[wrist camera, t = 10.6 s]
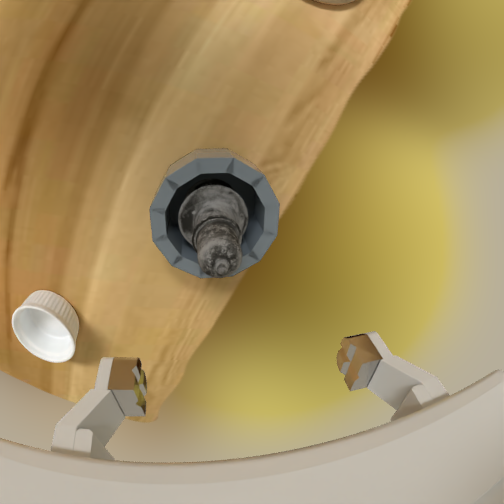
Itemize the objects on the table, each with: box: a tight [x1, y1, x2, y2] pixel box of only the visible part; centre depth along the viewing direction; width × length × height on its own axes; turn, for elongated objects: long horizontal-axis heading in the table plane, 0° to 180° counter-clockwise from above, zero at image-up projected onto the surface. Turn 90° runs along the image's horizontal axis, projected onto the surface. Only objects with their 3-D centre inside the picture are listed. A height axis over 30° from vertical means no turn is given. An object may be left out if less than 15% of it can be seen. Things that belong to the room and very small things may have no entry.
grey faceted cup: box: [150, 149, 280, 278], centre depth 26 cm, size 10×10×5 cm
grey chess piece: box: [178, 178, 249, 278], centre depth 22 cm, size 6×6×12 cm
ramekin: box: [12, 290, 79, 363], centre depth 29 cm, size 9×9×4 cm
